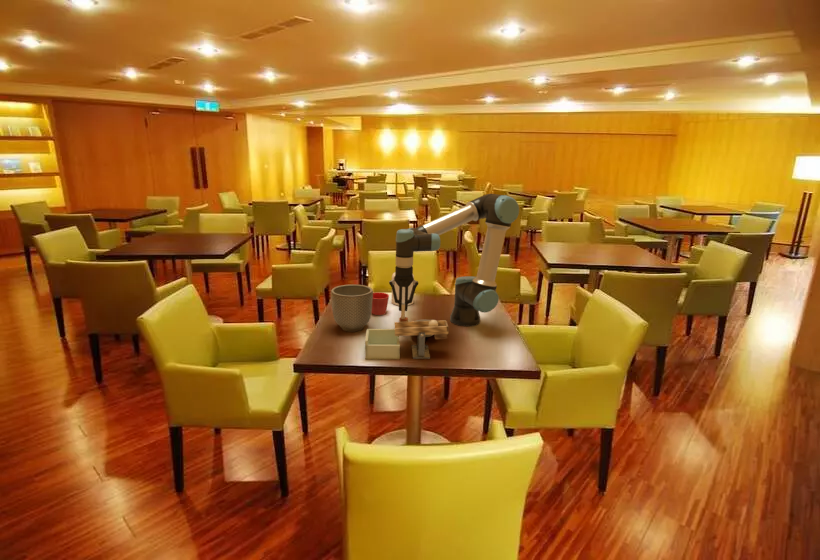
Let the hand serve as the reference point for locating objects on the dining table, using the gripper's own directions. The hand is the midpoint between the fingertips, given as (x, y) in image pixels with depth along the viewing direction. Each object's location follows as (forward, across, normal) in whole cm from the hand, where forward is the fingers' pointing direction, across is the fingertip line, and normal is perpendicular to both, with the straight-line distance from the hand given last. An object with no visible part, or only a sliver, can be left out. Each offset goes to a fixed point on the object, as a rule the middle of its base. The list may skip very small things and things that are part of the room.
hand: (402, 317), depth 199 cm
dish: (+11, -10, -6) cm, 17 cm away
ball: (-2, -12, +12) cm, 17 cm away
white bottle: (+11, -2, -55) cm, 56 cm away
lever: (+4, -8, +7) cm, 11 cm away
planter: (+12, +24, -16) cm, 31 cm away
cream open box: (+11, +8, +12) cm, 19 cm away
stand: (+11, -8, +12) cm, 18 cm away
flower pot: (+12, +12, -38) cm, 41 cm away
